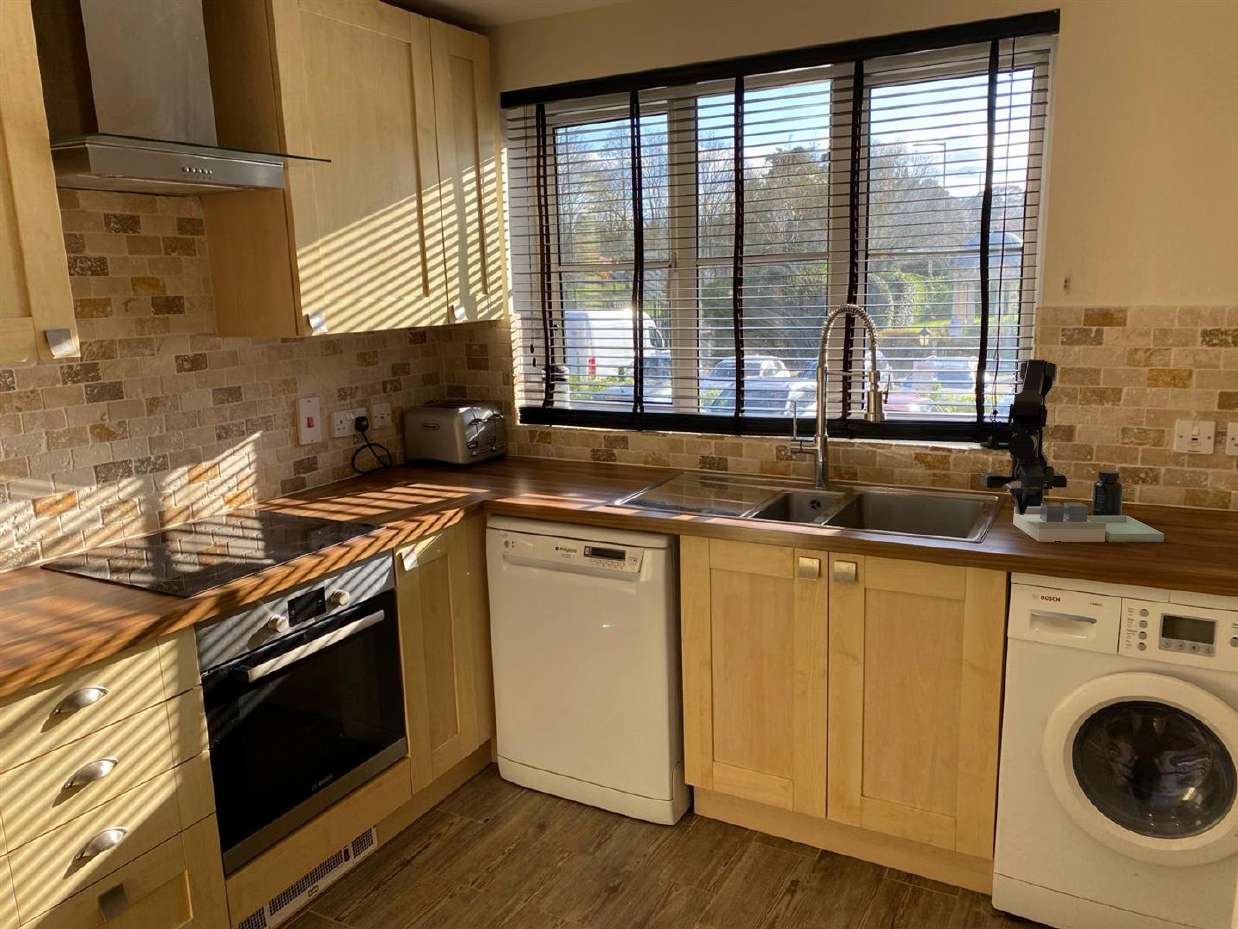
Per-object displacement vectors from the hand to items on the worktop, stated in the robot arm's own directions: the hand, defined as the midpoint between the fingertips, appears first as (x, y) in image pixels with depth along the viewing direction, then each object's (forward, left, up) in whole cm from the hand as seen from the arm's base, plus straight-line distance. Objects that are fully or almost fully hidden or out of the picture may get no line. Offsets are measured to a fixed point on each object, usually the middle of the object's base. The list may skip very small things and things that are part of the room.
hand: (1021, 514), depth 222 cm
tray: (0, +23, -4) cm, 24 cm away
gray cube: (0, +13, -2) cm, 13 cm away
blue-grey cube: (0, +7, -2) cm, 7 cm away
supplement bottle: (-16, +27, -5) cm, 32 cm away
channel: (0, +9, -4) cm, 10 cm away
